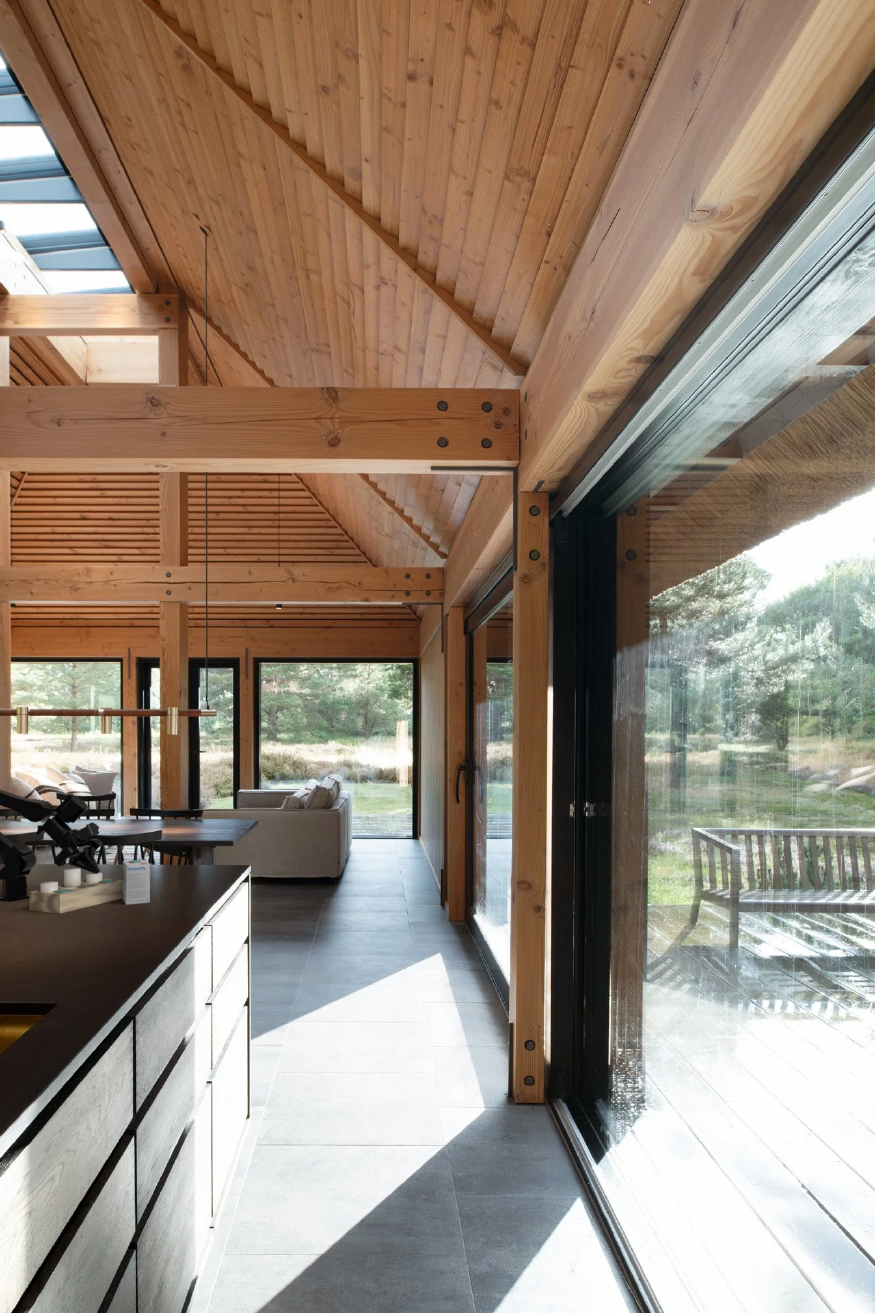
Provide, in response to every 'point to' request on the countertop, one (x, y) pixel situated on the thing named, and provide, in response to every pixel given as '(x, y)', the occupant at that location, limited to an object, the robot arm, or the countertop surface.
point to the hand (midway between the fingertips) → (98, 872)
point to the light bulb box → (136, 882)
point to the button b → (72, 877)
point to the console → (75, 896)
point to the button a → (49, 887)
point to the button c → (93, 877)
